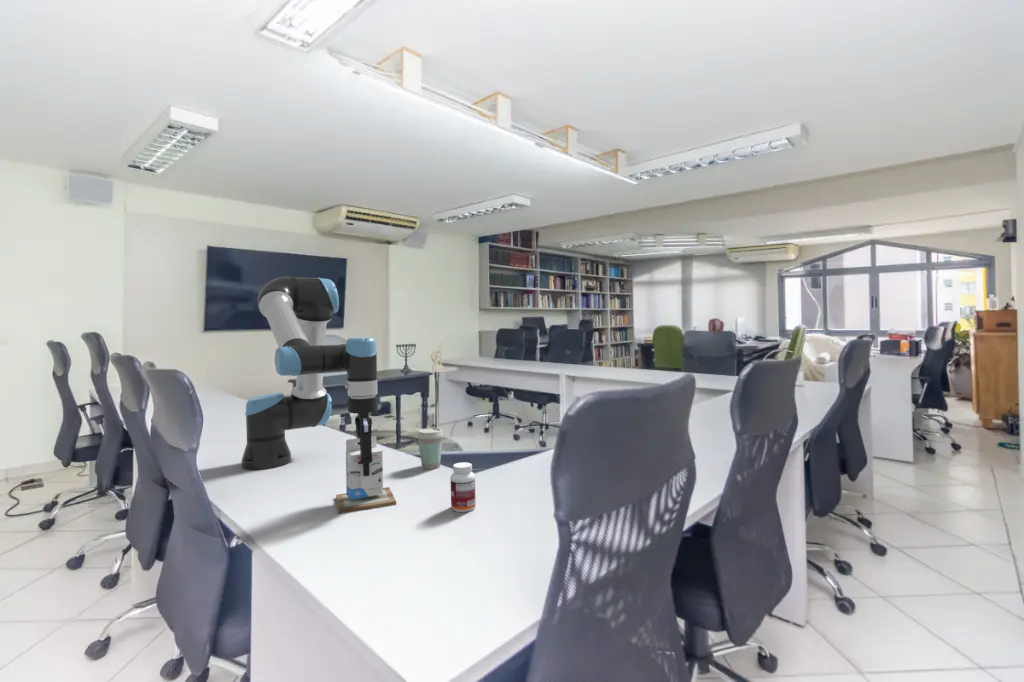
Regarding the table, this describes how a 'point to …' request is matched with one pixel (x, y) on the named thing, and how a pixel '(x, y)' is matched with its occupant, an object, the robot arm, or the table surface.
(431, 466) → the coffee cup
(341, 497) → the board
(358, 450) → the ink box
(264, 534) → the table surface
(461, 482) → the pill bottle
